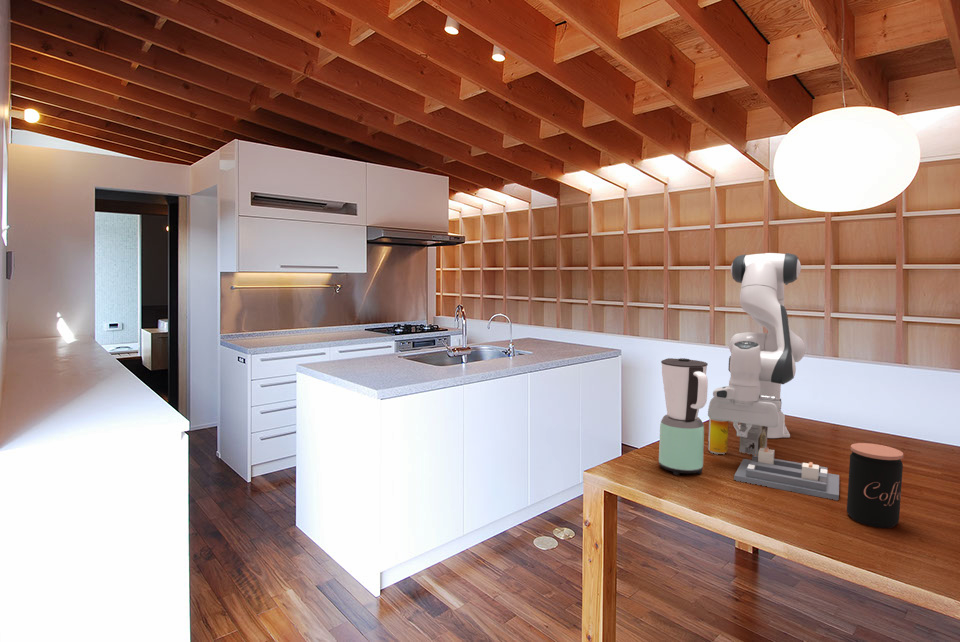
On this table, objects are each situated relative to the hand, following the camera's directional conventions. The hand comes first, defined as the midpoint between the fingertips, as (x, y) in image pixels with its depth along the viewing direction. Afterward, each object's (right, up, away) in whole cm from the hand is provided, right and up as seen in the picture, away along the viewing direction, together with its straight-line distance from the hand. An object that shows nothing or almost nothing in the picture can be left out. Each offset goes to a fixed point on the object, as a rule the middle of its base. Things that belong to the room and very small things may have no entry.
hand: (741, 436), depth 171 cm
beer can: (-1, -9, +16) cm, 19 cm away
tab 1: (+6, -9, -3) cm, 11 cm away
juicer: (-19, -11, -1) cm, 22 cm away
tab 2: (+12, -10, -16) cm, 22 cm away
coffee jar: (+15, -13, -35) cm, 41 cm away
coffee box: (+12, -9, +17) cm, 23 cm away
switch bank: (+9, -11, -9) cm, 17 cm away
